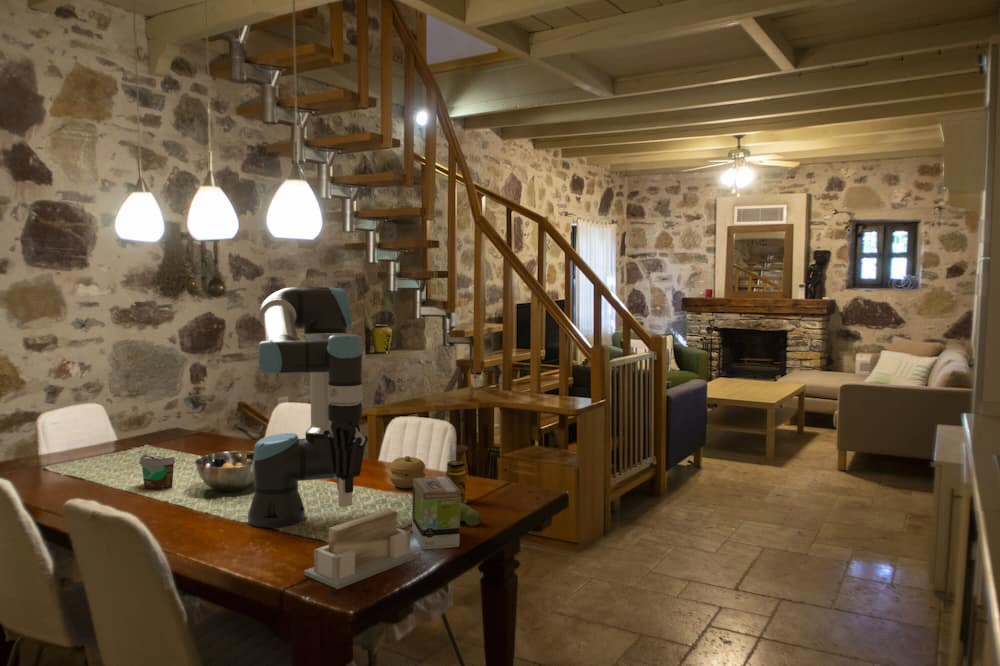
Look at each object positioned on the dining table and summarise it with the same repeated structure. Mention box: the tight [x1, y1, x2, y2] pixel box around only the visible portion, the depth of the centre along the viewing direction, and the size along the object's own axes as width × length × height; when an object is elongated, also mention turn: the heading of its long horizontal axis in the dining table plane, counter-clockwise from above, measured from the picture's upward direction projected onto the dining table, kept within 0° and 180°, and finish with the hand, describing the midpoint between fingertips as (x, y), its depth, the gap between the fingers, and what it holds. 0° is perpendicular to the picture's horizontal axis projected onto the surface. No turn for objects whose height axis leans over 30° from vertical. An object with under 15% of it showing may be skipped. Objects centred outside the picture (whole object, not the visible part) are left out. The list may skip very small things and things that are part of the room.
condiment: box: [445, 460, 467, 503], centre depth 226 cm, size 7×8×12 cm
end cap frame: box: [303, 527, 421, 590], centre depth 175 cm, size 12×25×6 cm, turn 141°
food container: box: [138, 453, 176, 491], centre depth 236 cm, size 12×6×10 cm, turn 68°
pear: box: [460, 503, 482, 527], centre depth 207 cm, size 6×5×10 cm
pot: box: [388, 455, 426, 489], centre depth 242 cm, size 12×12×10 cm
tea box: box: [411, 476, 461, 551], centre depth 193 cm, size 15×10×15 cm
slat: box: [328, 508, 398, 568], centre depth 175 cm, size 3×18×10 cm, turn 141°
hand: (345, 505), depth 170 cm, fingers closed
